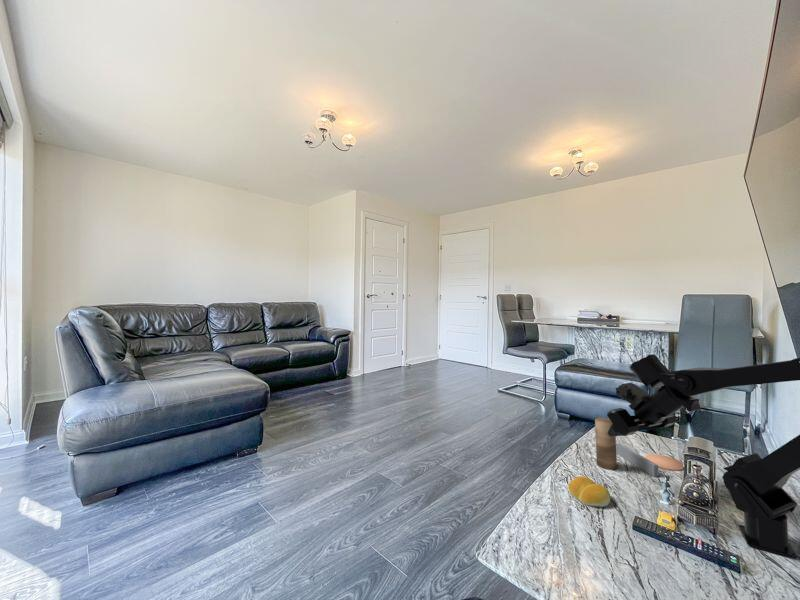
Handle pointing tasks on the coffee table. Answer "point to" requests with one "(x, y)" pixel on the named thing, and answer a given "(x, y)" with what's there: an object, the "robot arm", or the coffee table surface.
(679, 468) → the terracotta coaster
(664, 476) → the coffee table surface
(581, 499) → the bread roll
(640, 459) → the grey acrylic wall
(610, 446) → the walnut pin
